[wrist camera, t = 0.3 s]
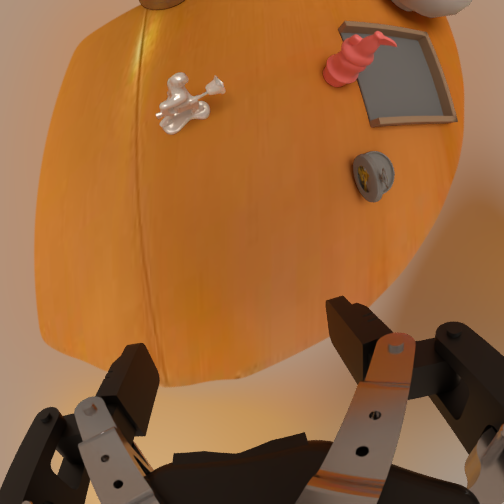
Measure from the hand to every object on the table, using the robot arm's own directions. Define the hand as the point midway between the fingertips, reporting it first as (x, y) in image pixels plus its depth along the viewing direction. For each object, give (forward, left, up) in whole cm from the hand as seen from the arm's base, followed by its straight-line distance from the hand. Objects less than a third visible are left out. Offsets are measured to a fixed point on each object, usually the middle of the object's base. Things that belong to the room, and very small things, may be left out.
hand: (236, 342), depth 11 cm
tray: (-20, +33, -28) cm, 48 cm away
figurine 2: (-20, +21, -29) cm, 40 cm away
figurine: (-18, -1, -29) cm, 34 cm away
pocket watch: (-4, +22, -29) cm, 36 cm away
